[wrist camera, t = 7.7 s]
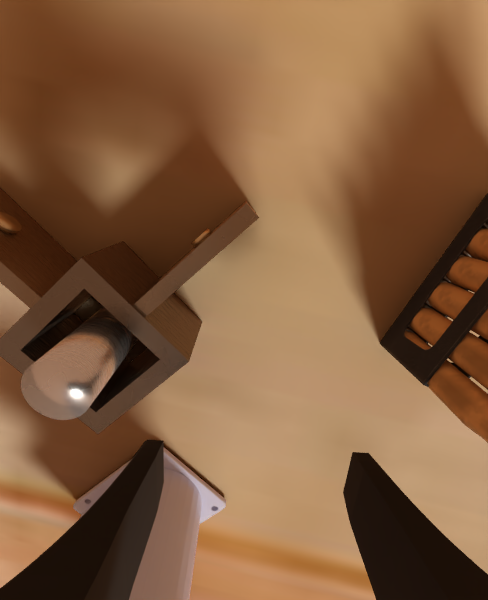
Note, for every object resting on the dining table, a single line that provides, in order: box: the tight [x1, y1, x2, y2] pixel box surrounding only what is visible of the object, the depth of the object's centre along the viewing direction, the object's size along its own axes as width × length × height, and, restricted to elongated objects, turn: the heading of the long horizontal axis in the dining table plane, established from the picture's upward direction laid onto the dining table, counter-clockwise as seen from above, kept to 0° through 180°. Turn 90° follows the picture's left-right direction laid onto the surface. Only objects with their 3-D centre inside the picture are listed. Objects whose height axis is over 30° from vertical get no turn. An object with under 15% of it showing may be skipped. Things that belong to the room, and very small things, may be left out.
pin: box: [21, 307, 138, 420], centre depth 16 cm, size 3×3×8 cm
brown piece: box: [0, 188, 259, 434], centre depth 16 cm, size 14×14×5 cm
